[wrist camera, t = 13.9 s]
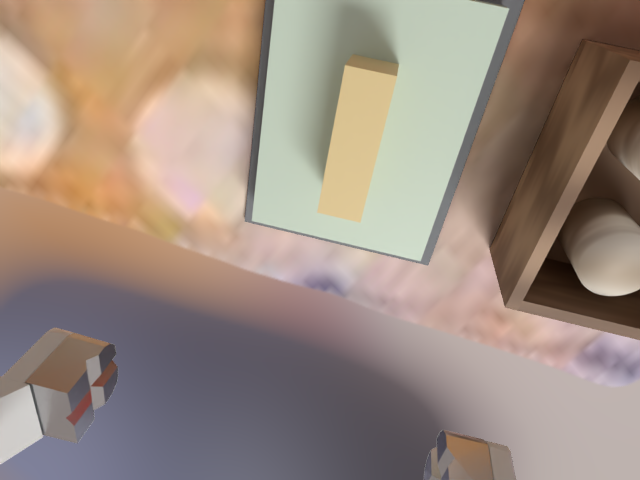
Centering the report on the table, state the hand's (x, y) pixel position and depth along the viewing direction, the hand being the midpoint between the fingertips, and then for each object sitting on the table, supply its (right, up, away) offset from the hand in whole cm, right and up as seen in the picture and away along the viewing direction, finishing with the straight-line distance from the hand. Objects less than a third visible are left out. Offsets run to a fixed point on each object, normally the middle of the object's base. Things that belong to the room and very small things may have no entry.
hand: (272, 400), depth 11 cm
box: (+21, +8, +19) cm, 29 cm away
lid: (+4, +12, +20) cm, 24 cm away
